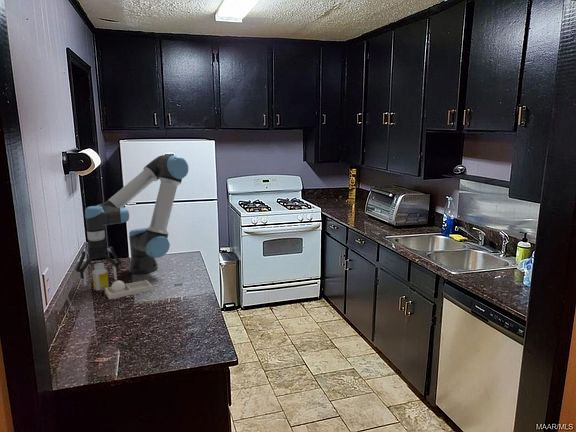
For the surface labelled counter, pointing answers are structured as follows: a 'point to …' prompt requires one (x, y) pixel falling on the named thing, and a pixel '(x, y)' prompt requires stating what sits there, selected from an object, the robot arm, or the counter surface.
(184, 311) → the counter surface
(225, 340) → the counter surface
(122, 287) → the ivory egg
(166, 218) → the robot arm
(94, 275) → the supplement bottle
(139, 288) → the carrier
